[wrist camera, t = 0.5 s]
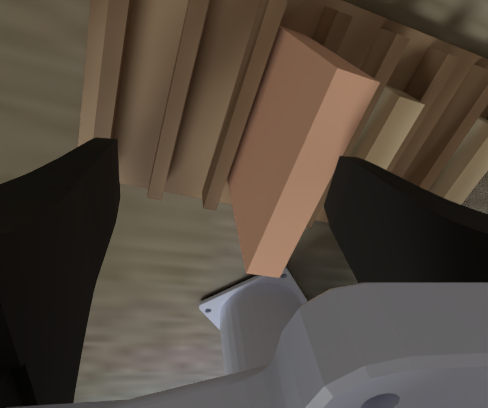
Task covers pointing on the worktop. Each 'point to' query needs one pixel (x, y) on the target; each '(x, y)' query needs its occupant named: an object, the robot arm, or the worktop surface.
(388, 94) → the offcut
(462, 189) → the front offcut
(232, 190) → the salmon rectangular slab
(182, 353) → the worktop surface
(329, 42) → the rack
